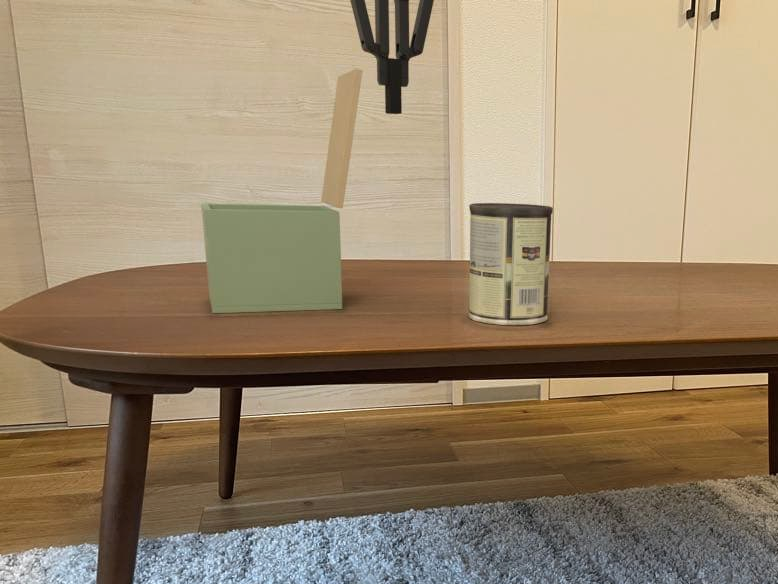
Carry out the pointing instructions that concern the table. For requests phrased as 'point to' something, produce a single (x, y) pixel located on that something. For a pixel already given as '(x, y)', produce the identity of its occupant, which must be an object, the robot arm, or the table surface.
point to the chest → (272, 257)
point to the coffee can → (509, 263)
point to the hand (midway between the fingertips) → (393, 113)
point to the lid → (341, 138)
